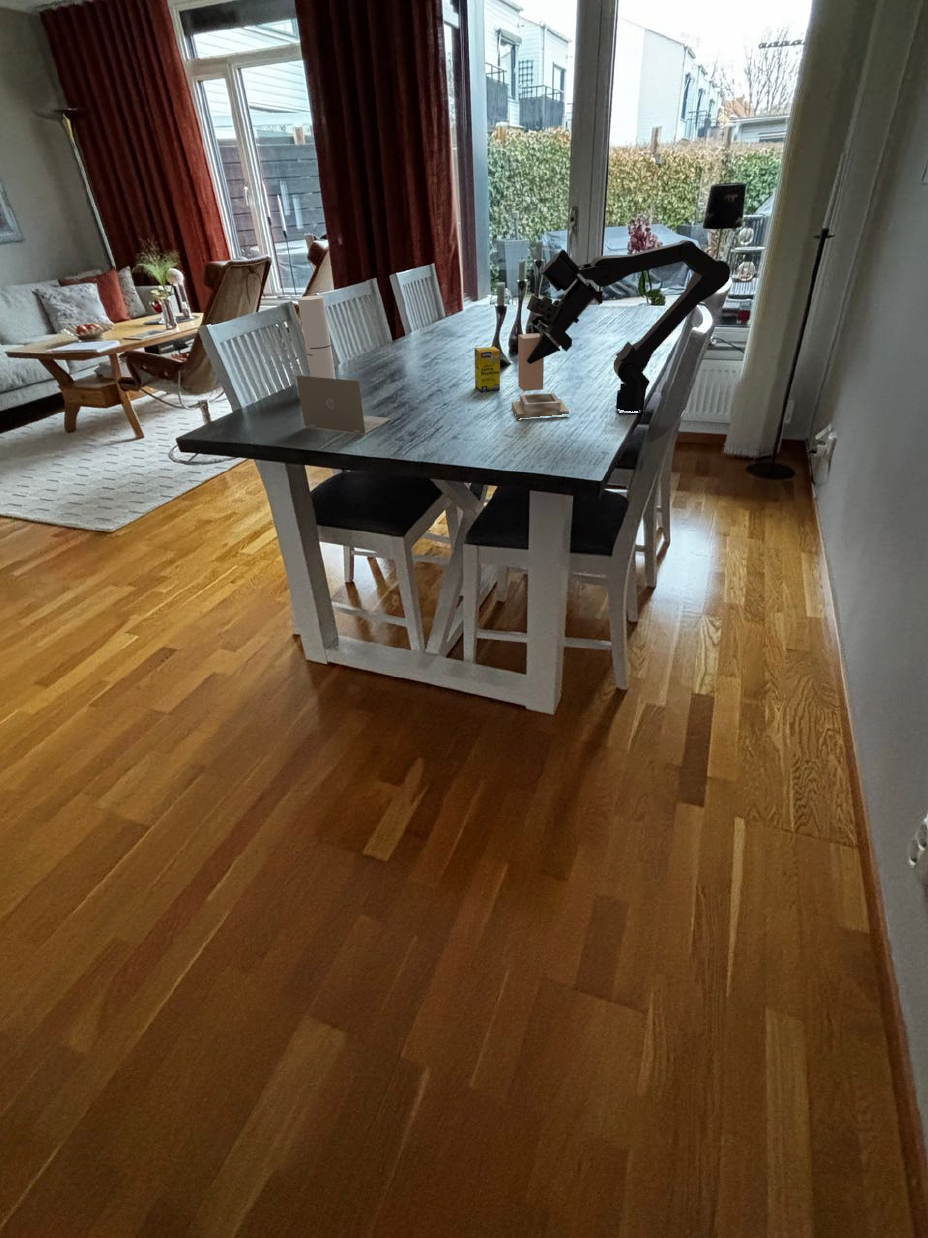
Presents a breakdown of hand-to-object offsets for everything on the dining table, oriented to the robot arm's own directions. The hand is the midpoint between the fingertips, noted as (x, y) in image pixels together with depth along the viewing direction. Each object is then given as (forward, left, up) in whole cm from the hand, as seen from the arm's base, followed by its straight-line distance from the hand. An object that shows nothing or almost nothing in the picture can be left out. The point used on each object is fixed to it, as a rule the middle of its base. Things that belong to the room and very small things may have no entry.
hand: (525, 360), depth 154 cm
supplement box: (+14, -25, -14) cm, 32 cm away
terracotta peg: (-1, 0, -7) cm, 7 cm away
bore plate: (-3, -4, -14) cm, 15 cm away
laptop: (+44, +9, -14) cm, 47 cm away
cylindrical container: (+62, -20, -14) cm, 66 cm away
